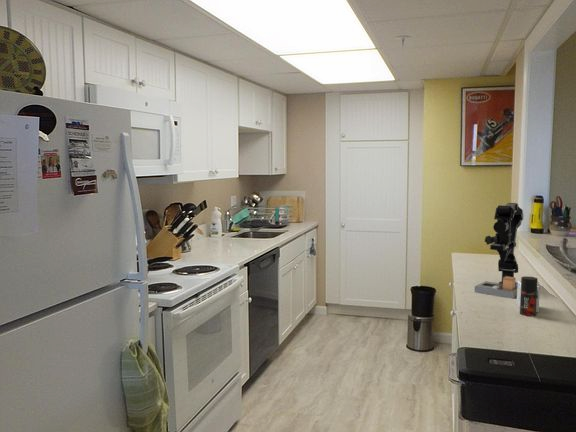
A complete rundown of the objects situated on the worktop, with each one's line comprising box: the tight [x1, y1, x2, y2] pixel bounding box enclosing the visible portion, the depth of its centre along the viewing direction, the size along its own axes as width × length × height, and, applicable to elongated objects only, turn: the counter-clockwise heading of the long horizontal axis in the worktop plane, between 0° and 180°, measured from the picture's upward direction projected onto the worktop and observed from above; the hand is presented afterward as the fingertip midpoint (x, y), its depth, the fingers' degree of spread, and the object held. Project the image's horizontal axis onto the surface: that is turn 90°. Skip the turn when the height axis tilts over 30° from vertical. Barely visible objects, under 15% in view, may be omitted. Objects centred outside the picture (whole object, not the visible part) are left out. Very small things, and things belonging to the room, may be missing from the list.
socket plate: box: [474, 280, 517, 299], centre depth 245 cm, size 14×18×4 cm
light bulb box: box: [516, 280, 541, 313], centre depth 217 cm, size 11×7×11 cm, turn 168°
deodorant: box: [519, 276, 538, 317], centre depth 208 cm, size 6×6×15 cm
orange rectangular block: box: [503, 276, 516, 290], centre depth 242 cm, size 4×4×8 cm
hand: (502, 262), depth 252 cm, fingers closed
